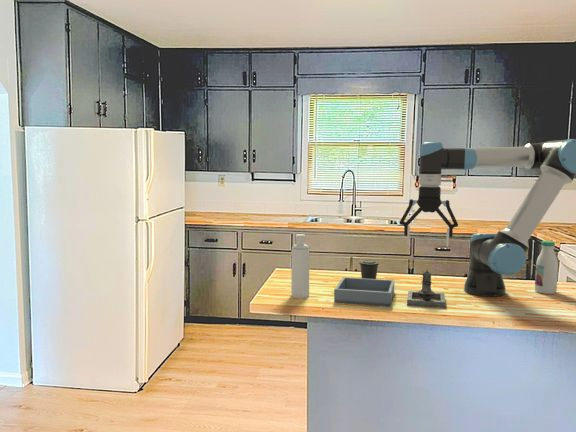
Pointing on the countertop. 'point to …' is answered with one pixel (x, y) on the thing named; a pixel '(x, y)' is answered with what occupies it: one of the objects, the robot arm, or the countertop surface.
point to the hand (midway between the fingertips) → (427, 245)
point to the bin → (364, 291)
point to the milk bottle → (546, 269)
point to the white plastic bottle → (300, 268)
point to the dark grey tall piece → (426, 287)
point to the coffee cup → (369, 269)
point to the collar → (426, 302)
